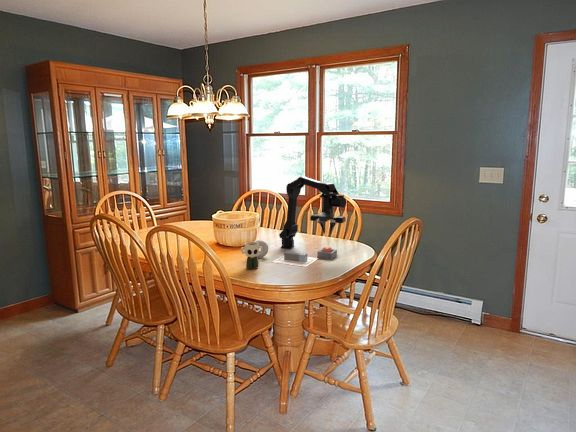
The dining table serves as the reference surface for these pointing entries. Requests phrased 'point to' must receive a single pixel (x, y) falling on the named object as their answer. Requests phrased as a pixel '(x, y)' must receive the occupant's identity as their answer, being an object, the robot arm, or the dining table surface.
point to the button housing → (326, 254)
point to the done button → (327, 249)
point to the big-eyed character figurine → (252, 254)
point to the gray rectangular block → (295, 256)
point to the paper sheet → (289, 262)
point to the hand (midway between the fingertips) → (327, 233)
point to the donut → (265, 248)
